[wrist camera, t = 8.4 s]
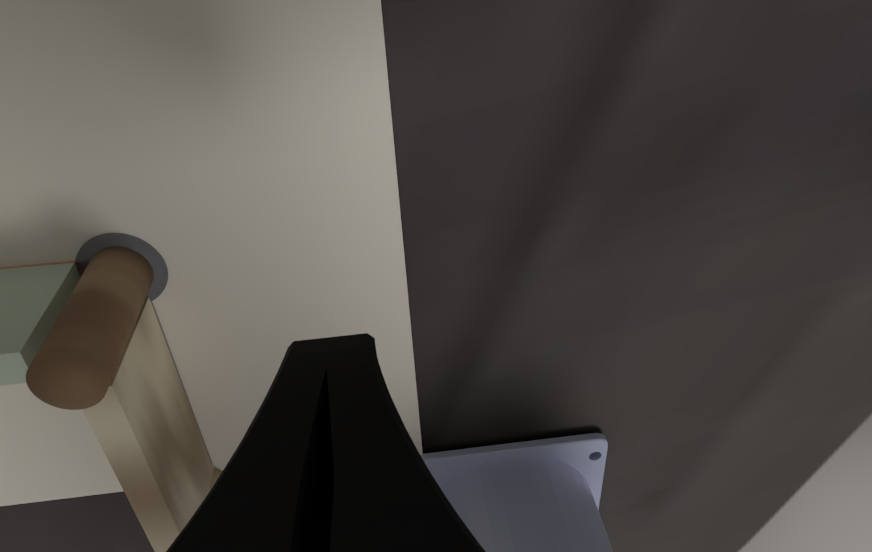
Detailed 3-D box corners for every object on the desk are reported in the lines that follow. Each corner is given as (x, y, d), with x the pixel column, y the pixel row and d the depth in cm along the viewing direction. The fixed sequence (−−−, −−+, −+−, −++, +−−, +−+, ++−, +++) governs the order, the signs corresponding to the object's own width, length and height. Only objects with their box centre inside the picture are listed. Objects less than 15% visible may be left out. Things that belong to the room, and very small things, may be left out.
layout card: (422, 448, 26) (422, 456, 26) (-44, 505, 25) (-50, 514, 25) (367, -139, 15) (367, -138, 15) (-489, -83, 14) (-510, -81, 14)
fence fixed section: (235, 486, 27) (214, 614, 22) (189, 492, 26) (159, 621, 22) (146, 236, 20) (92, 350, 16) (84, 242, 20) (13, 359, 15)
